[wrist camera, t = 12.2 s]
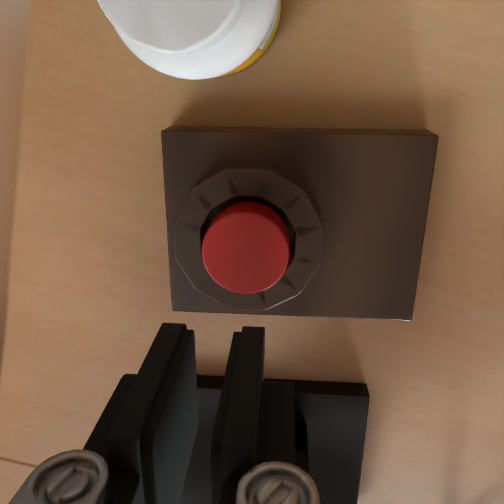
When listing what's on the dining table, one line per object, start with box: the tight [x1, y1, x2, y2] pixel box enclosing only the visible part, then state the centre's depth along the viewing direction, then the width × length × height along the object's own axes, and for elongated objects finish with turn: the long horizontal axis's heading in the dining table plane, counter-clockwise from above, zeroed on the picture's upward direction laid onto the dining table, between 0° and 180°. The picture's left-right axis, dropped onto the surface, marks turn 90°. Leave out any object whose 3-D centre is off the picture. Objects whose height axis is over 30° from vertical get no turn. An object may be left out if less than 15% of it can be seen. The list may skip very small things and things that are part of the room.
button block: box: [161, 126, 439, 321], centre depth 22 cm, size 12×9×4 cm
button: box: [202, 201, 289, 294], centre depth 20 cm, size 4×4×2 cm
